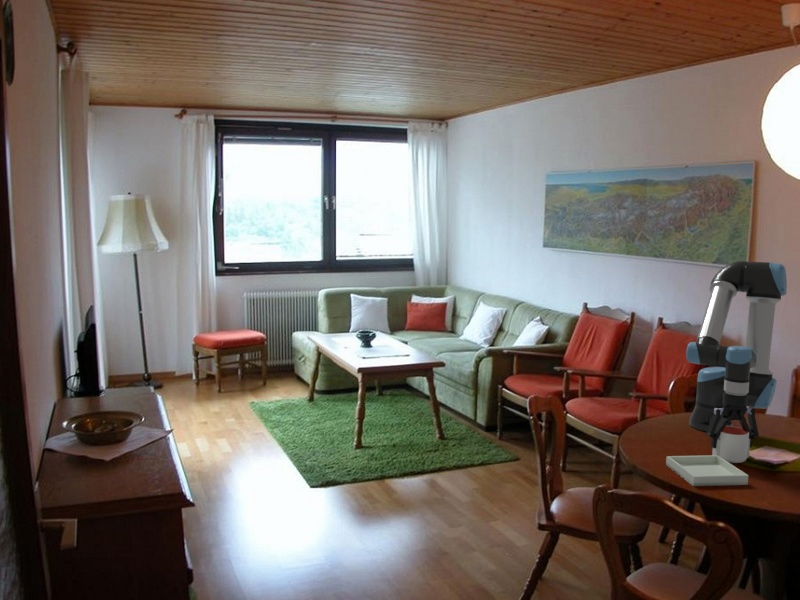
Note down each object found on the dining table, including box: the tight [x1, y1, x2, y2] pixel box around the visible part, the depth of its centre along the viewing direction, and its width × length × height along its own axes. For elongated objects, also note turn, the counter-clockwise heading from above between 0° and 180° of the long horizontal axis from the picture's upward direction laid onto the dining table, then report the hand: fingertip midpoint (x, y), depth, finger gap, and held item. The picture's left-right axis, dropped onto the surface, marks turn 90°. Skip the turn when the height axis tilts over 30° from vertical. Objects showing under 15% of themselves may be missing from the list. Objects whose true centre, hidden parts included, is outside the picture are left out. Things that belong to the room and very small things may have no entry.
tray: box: [665, 454, 749, 487], centre depth 226 cm, size 18×18×3 cm
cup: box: [718, 425, 749, 464], centre depth 240 cm, size 10×10×10 cm
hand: (730, 456), depth 241 cm, fingers closed on cup, 10 cm apart
